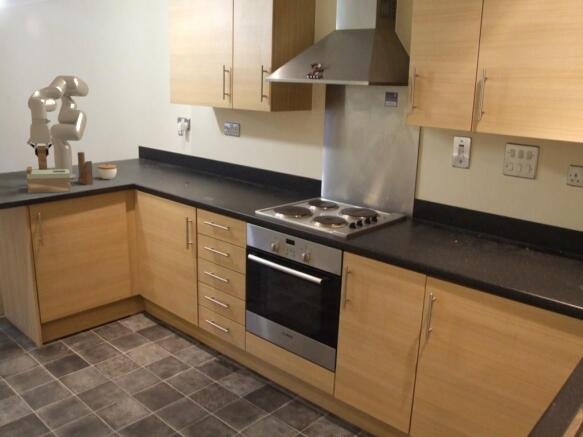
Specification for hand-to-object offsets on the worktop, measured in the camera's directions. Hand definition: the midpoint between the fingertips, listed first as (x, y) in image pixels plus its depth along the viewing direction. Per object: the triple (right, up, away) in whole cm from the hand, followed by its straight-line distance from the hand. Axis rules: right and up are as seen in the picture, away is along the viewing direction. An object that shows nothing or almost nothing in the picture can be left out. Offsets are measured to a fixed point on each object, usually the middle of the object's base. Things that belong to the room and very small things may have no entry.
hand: (42, 155), depth 286 cm
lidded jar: (+25, -10, +32) cm, 41 cm away
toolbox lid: (+8, -12, -9) cm, 17 cm away
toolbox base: (+7, -19, -7) cm, 22 cm away
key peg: (0, -10, +3) cm, 11 cm away
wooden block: (+19, -15, +13) cm, 27 cm away
